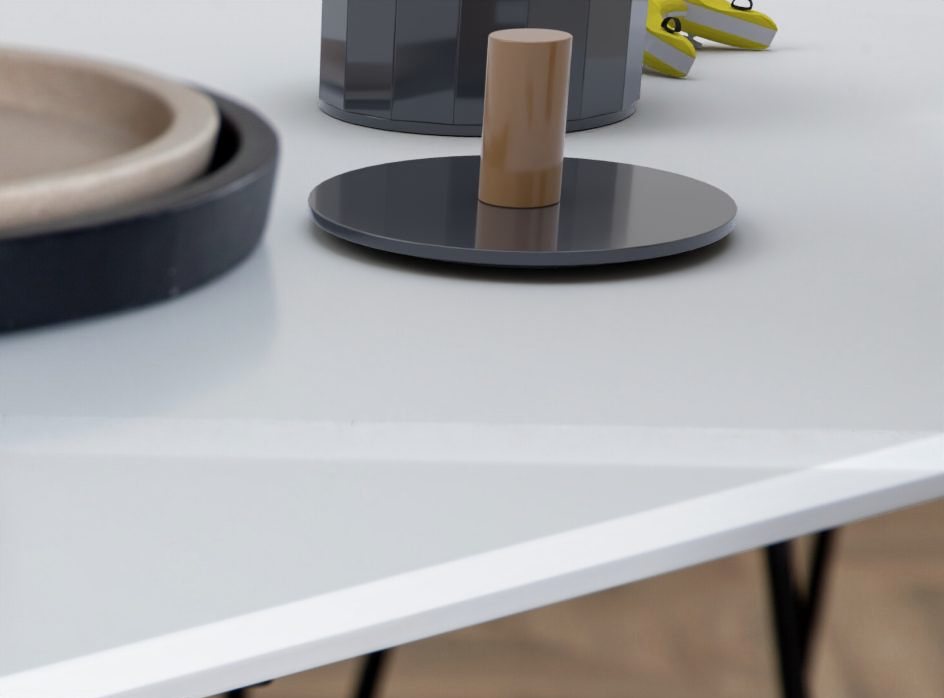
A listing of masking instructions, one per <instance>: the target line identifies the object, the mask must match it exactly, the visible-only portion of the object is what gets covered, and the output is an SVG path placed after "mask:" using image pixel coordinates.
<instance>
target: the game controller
mask: <svg viewBox="0 0 944 698" xmlns="http://www.w3.org/2000/svg"><path fill="white" fill-rule="evenodd" d="M735 1H736V0H732V1H731V2H730V1H728V0H649V1H648V12H647V23H646V34H645V45H644V56H643V65H645V66H646V67H648V68H650V69H652V70H654V71H657V72H658V73H661V74H664V75H667V76H672V77H676V78H685V77H687V76H688V74H689V72H690V70H691V68H692V66H693V65H694V63H695V60H696V58H697V52H696V48H697V49H700V48H702V47H703V43H701V42H700V41H697V39H694V38H695V37H698V38H702V39H703V40H708V41H711V42H713V43H717V44H722V45H724V46H725V45H726V46H730V47H734V48H739V49H745V50H759V51H760V50H766V49H767V48H768V49H769V48H770V47H771V44H772V43H773V40H774V39H775V36H776V34H777V33H778V26H777V23H775V22H774V20H773V19H772V18H771V17H769V15H767V14H765V13H762V12H760V11H758V10H754V9H753V7H754V3H753V0H747V2H749V6H741V5H736V4H734V2H735ZM681 32H682V33H685V34H687V35H685V34H684V35H683V34H681Z"/></svg>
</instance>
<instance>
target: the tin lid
mask: <svg viewBox="0 0 944 698" xmlns="http://www.w3.org/2000/svg"><path fill="white" fill-rule="evenodd" d="M572 42H573V36H572V35H571V34H570V33H567V32H563V31H558V30H550V29H530V28H526V29H507V30H500V31H495V32H492V33H490V34H489V35H488V45H487V61H486V76H485V92H484V108H483V124H482V136H481V139H480V140H481V141H480V142H481V143H480V154H475V155H474V154H473V155H451V156H450V155H449V156H437V157H436V156H435V157H425V158H424V157H423V158H414V159H405V160H399V161H391V162H386V163H379V164H374V165H369V166H364V167H360V168H357V169H352V170H349V171H346V172H343V173H339V174H337V175H334V176H332V177H330V178H327V179H325V180H323V181H321V182H320V183H318V184H317V185H316V186H314V187H313V188H312V190H310V192H309V194H308V198H307V209H306V210H307V213H308V217H309V219H310V220H311V221H312V222H313V224H314V225H316V226H317V227H319V228H320V229H322V230H324V231H325V232H327V233H328V234H331V235H332V236H335V237H337V238H340V239H343V240H345V241H348V242H351V243H354V244H357V245H361V246H364V247H368V248H373V249H374V250H375V249H376V250H381V251H385V252H390V253H394V254H400V255H406V256H411V257H416V258H420V259H425V260H429V261H435V262H442V263H449V264H456V265H465V266H475V267H483V268H486V267H487V268H501V269H567V268H568V269H569V268H570V269H571V268H583V267H584V268H585V267H595V266H602V265H603V266H604V265H611V264H612V265H613V264H618V263H625V262H634V261H642V260H643V261H644V260H650V259H655V258H661V257H667V256H673V255H677V254H681V253H685V252H691V251H693V250H696V249H697V250H698V249H700V248H703V247H706V246H709V245H712V244H713V243H716V242H718V241H720V240H721V239H723V238H724V237H726V236H727V235H729V234H730V233H731V232H732V231H733V230H734V228H735V227H736V226H737V225H736V224H737V218H738V210H739V209H738V205H737V204H736V203H737V202H736V201H735V199H733V197H732V196H730V194H728V193H727V192H725V191H724V190H722V189H720V188H719V187H717V186H715V185H712V184H709V183H707V182H705V181H702V180H699V179H696V178H693V177H690V176H687V175H683V174H679V173H677V172H672V171H668V170H664V169H658V168H655V167H648V166H643V165H637V164H631V163H624V162H618V161H617V162H616V161H610V160H601V159H592V158H591V159H590V158H581V157H567V156H565V143H566V133H567V132H566V119H567V106H568V94H569V81H570V68H571V55H572Z"/></svg>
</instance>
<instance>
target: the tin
mask: <svg viewBox="0 0 944 698" xmlns="http://www.w3.org/2000/svg"><path fill="white" fill-rule="evenodd" d="M648 1H649V0H321V7H320V11H321V12H320V37H319V41H320V43H319V68H318V72H319V73H318V105H319V109H321V110H322V111H323V113H325V114H327V115H328V116H330V117H333V118H336V119H338V120H341V121H344V122H346V123H347V122H348V123H351V124H353V125H354V124H355V125H360V126H363V127H368V128H375V129H379V130H387V131H392V132H393V131H394V132H403V133H411V134H421V135H422V134H423V135H436V136H455V137H456V136H458V137H482V124H483V108H484V92H485V76H486V61H487V45H488V35H489V34H490V33H492V32H495V31H500V30H507V29H526V28H530V29H550V30H558V31H563V32H567V33H570V34H571V35H572V36H573V42H572V55H571V68H570V81H569V94H568V106H567V119H566V132H565V133H569V132H575V131H582V130H583V131H584V130H588V129H593V128H599V127H604V126H607V125H610V124H614V123H617V122H620V121H622V120H625V119H627V118H629V117H630V116H631V115H632V114H633V113H635V111H636V108H637V102H638V101H639V100H640V98H641V89H642V77H643V65H644V64H643V56H644V45H645V34H646V23H647V12H648Z"/></svg>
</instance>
